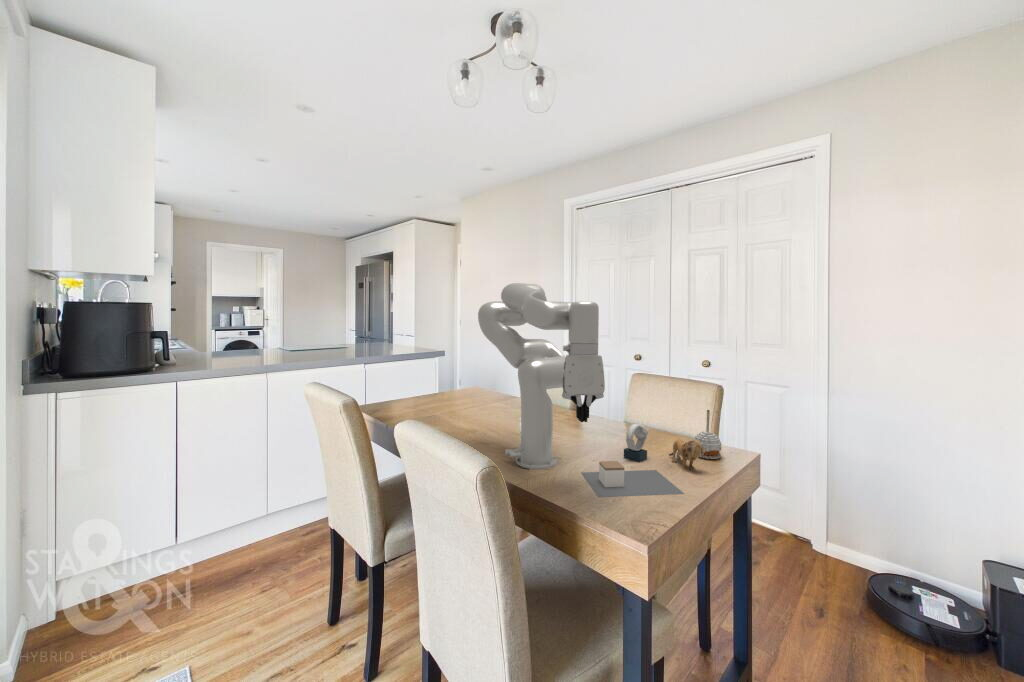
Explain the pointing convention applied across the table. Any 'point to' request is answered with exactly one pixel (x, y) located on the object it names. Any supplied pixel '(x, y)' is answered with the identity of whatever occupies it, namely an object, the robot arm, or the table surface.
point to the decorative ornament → (709, 442)
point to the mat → (633, 484)
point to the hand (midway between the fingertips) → (582, 420)
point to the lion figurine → (687, 451)
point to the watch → (636, 451)
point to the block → (611, 474)
